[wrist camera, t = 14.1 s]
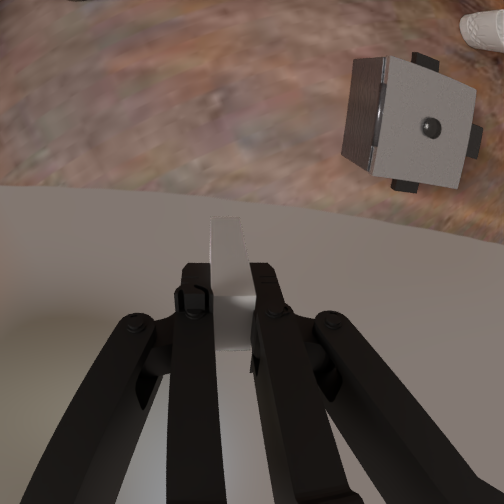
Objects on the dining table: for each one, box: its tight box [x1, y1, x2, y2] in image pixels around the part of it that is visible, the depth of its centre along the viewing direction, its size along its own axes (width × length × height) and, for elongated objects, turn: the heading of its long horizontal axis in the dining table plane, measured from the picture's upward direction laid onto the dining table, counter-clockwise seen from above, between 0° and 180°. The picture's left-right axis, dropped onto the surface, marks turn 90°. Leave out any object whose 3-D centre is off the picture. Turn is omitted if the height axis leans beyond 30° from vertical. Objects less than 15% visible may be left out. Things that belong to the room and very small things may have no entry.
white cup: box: [460, 9, 504, 53], centre depth 30 cm, size 8×8×10 cm
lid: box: [369, 56, 483, 189], centre depth 34 cm, size 15×19×2 cm
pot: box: [341, 52, 439, 193], centre depth 38 cm, size 20×15×9 cm
